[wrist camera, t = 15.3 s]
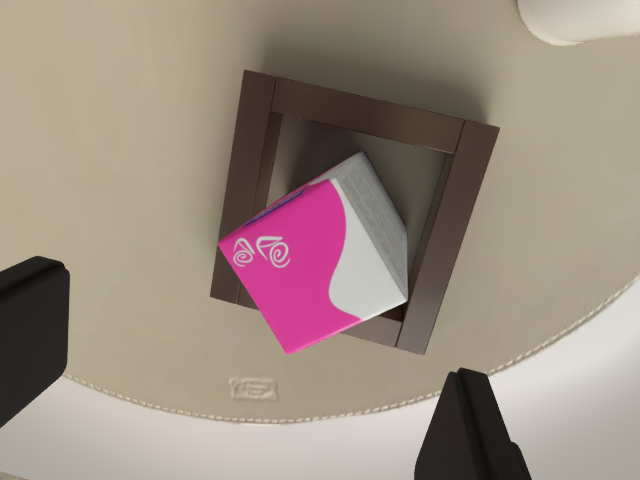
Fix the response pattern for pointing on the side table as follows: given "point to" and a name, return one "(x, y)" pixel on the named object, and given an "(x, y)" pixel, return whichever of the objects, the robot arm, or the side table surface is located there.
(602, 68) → the side table surface
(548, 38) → the drinking glass
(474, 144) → the socket
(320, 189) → the supplement box
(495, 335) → the side table surface
